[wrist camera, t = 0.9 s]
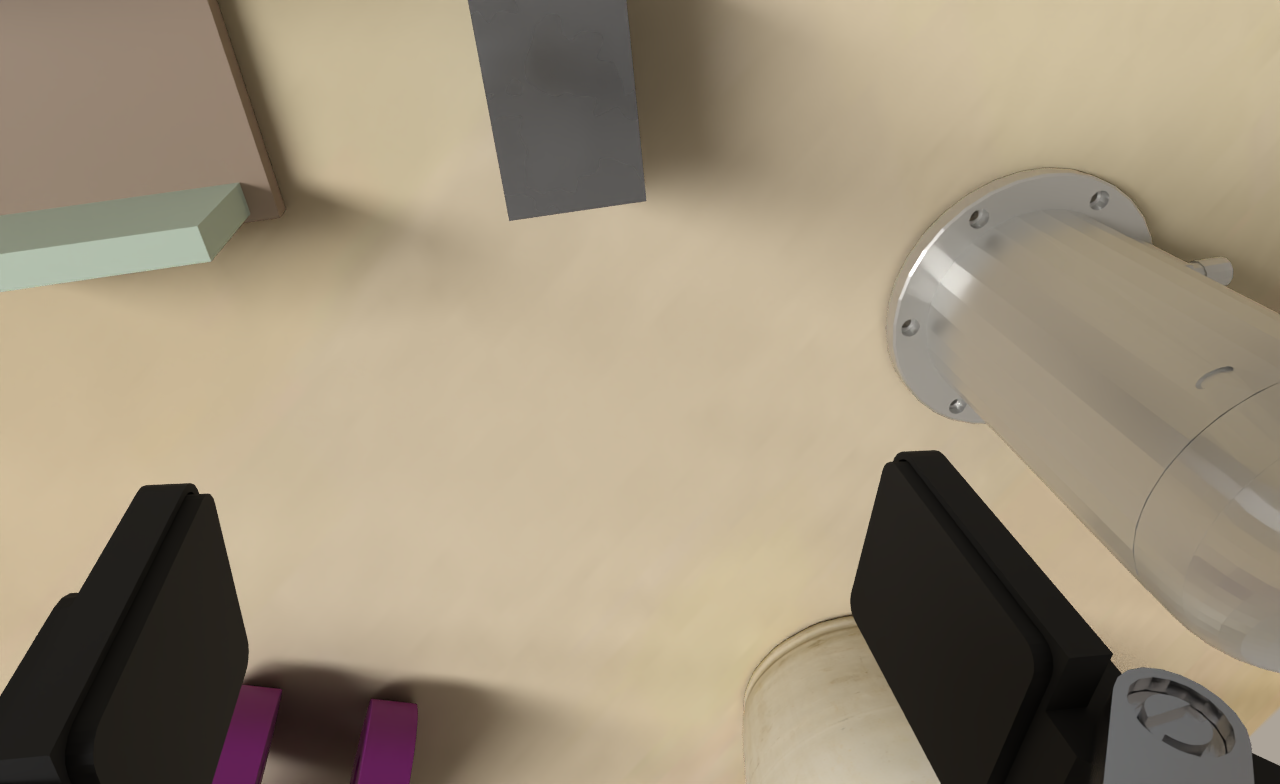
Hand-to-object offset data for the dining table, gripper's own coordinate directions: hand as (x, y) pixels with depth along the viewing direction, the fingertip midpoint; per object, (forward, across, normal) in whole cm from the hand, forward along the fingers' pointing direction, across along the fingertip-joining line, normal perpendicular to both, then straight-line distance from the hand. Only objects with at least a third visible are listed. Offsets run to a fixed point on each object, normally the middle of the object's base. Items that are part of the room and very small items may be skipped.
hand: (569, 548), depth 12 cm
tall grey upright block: (+24, -2, -3) cm, 24 cm away
